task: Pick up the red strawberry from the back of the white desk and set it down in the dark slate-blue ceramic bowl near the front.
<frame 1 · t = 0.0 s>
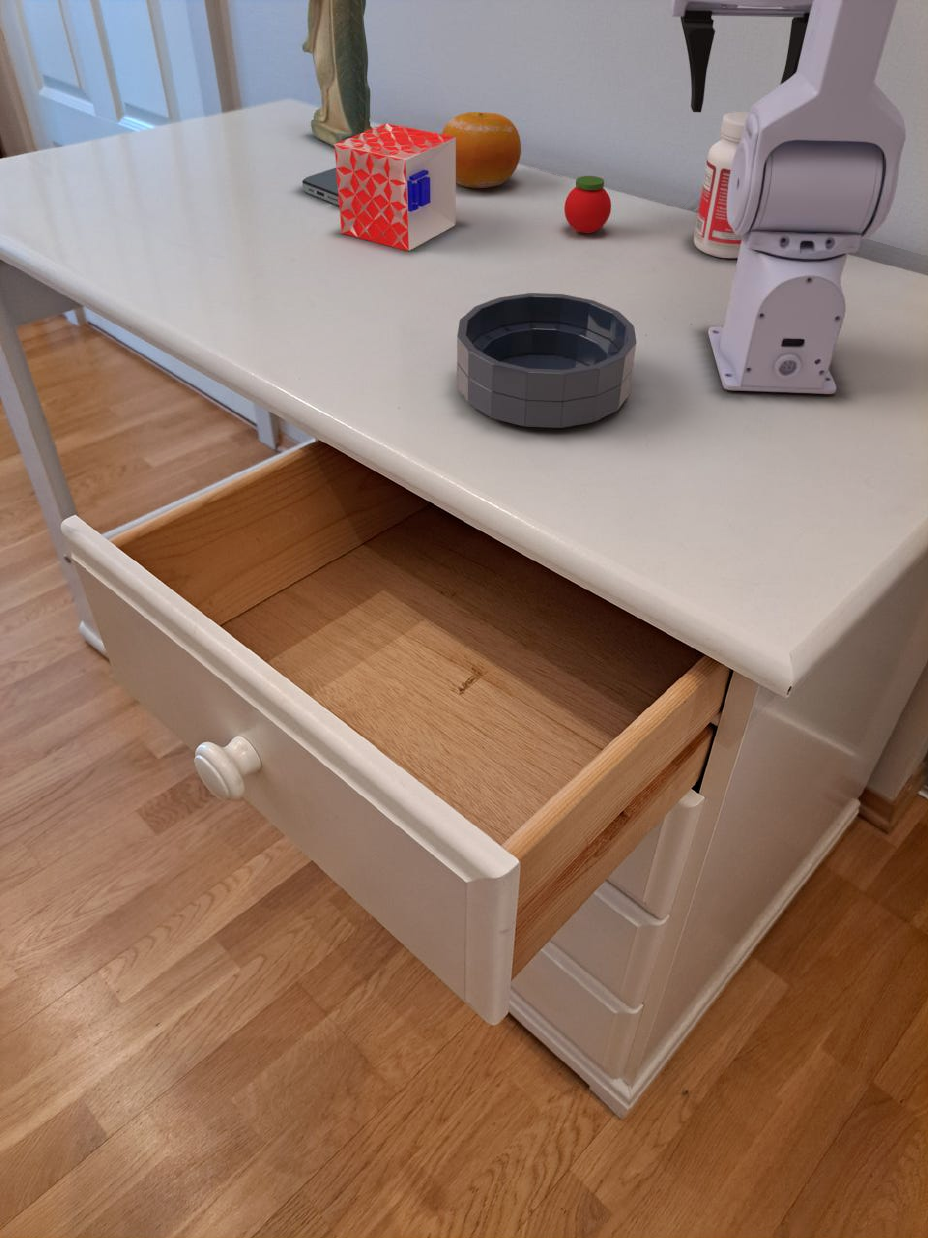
hand: (738, 110, 84), 10 cm above the table, tool pointing down, fingers open, 7 cm apart
pill bottle: (725, 249, 86), on the table
statue: (343, 141, 110), on the table
fruit: (479, 184, 99), on the table
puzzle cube: (399, 231, 89), on the table
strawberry: (585, 231, 89), on the table
bowl: (542, 389, 67), on the table
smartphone: (376, 185, 99), on the table
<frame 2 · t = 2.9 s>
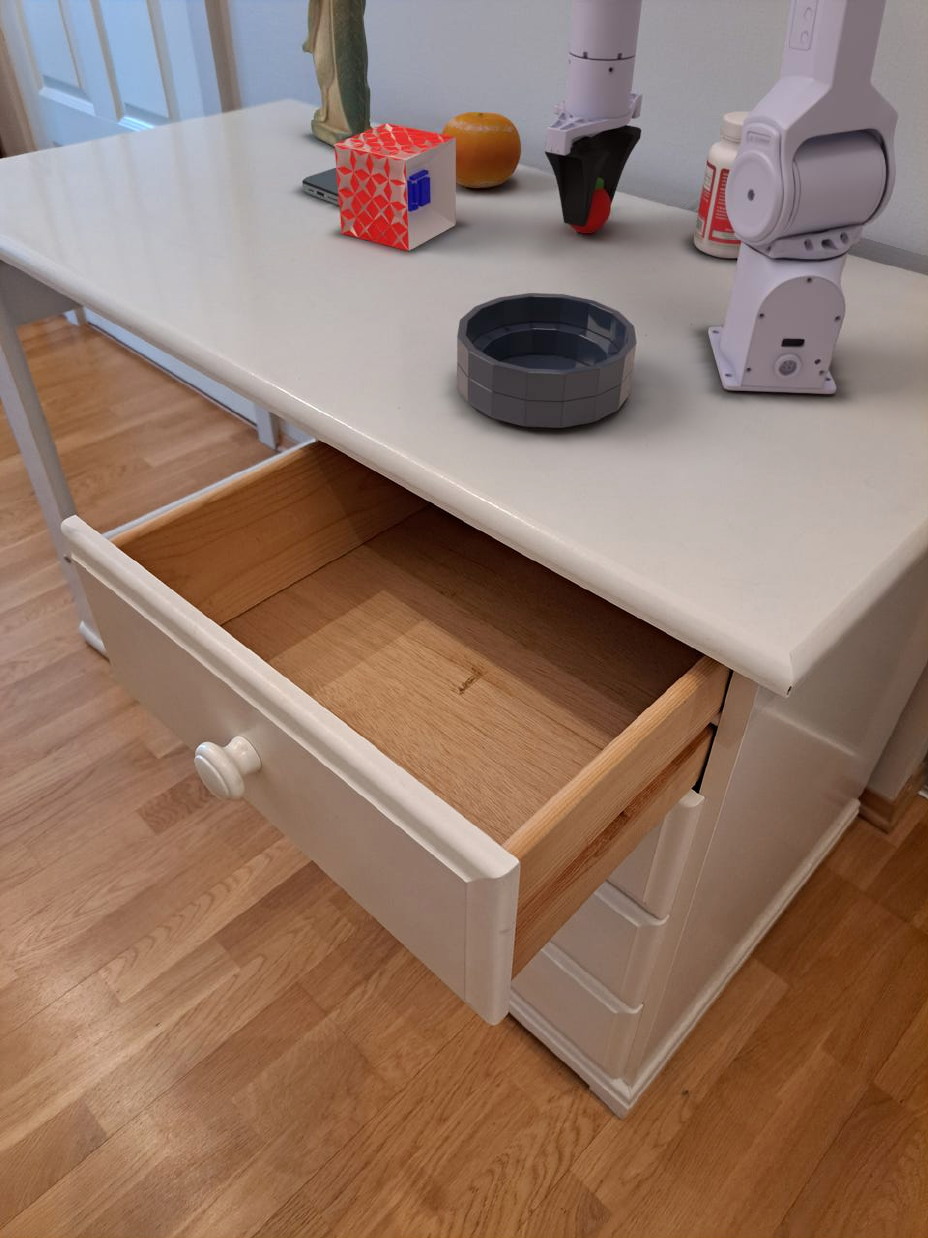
hand: (586, 216, 88), 1 cm above the table, tool pointing down, fingers closed on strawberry, 4 cm apart
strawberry: (585, 231, 89), on the table, touching gripper
everything else where it was.
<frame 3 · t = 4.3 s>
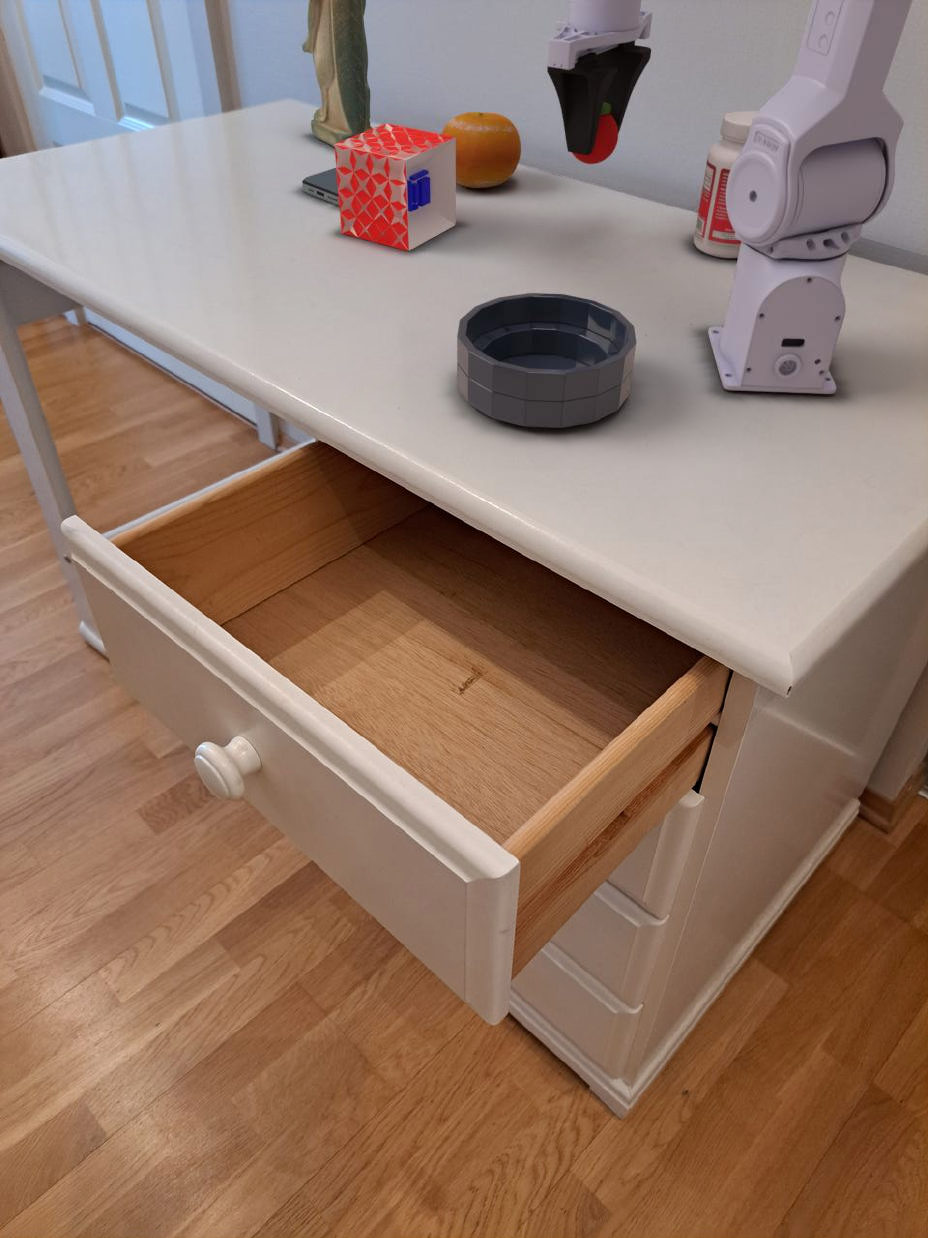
hand: (592, 145, 82), 8 cm above the table, tool pointing down, fingers closed on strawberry, 4 cm apart
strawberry: (590, 162, 83), point 7 cm above the table, touching gripper
everything else where it was.
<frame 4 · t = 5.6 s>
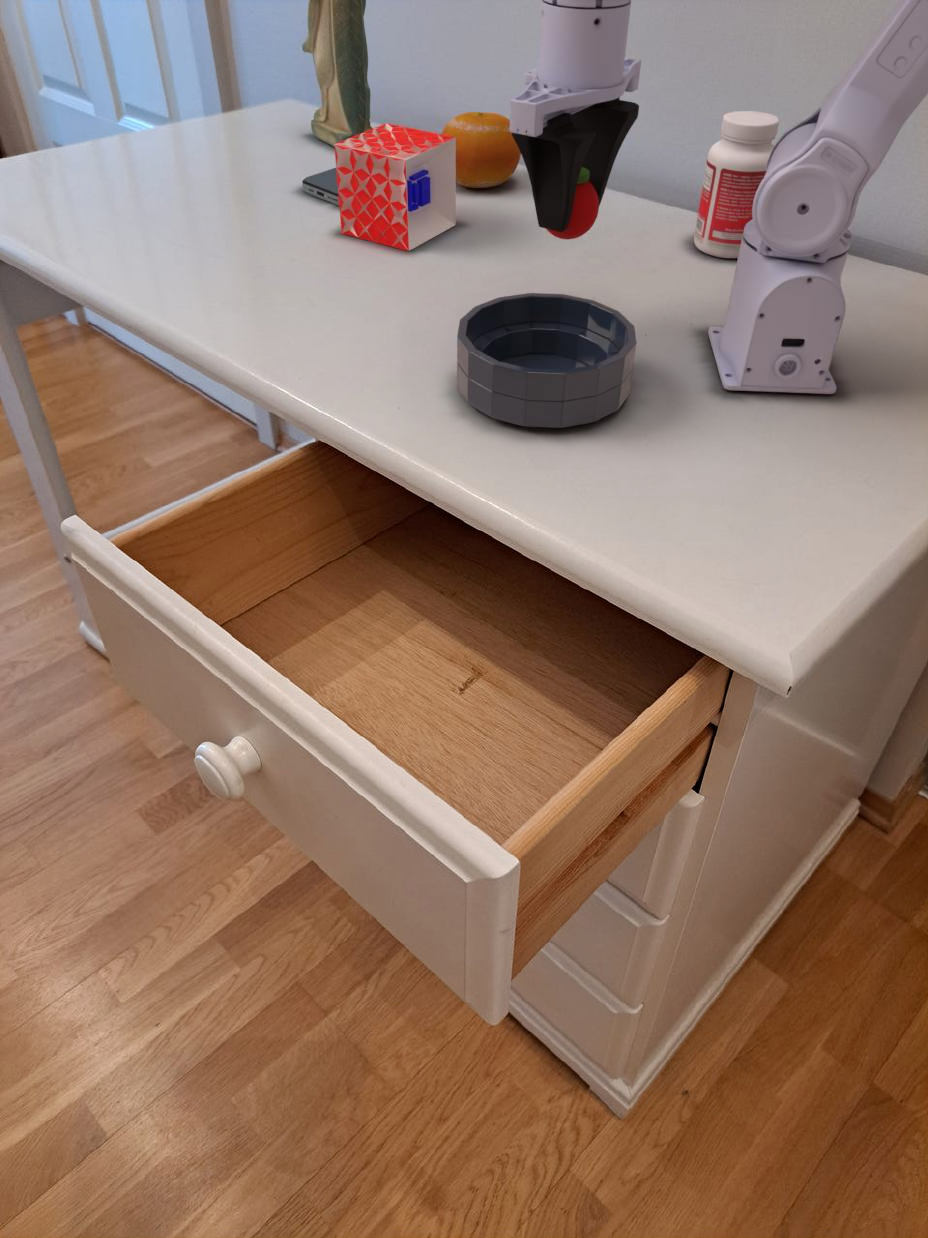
hand: (568, 218, 69), 8 cm above the table, tool pointing down, fingers closed on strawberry, 4 cm apart
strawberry: (566, 237, 69), point 7 cm above the table, touching gripper
everything else where it was.
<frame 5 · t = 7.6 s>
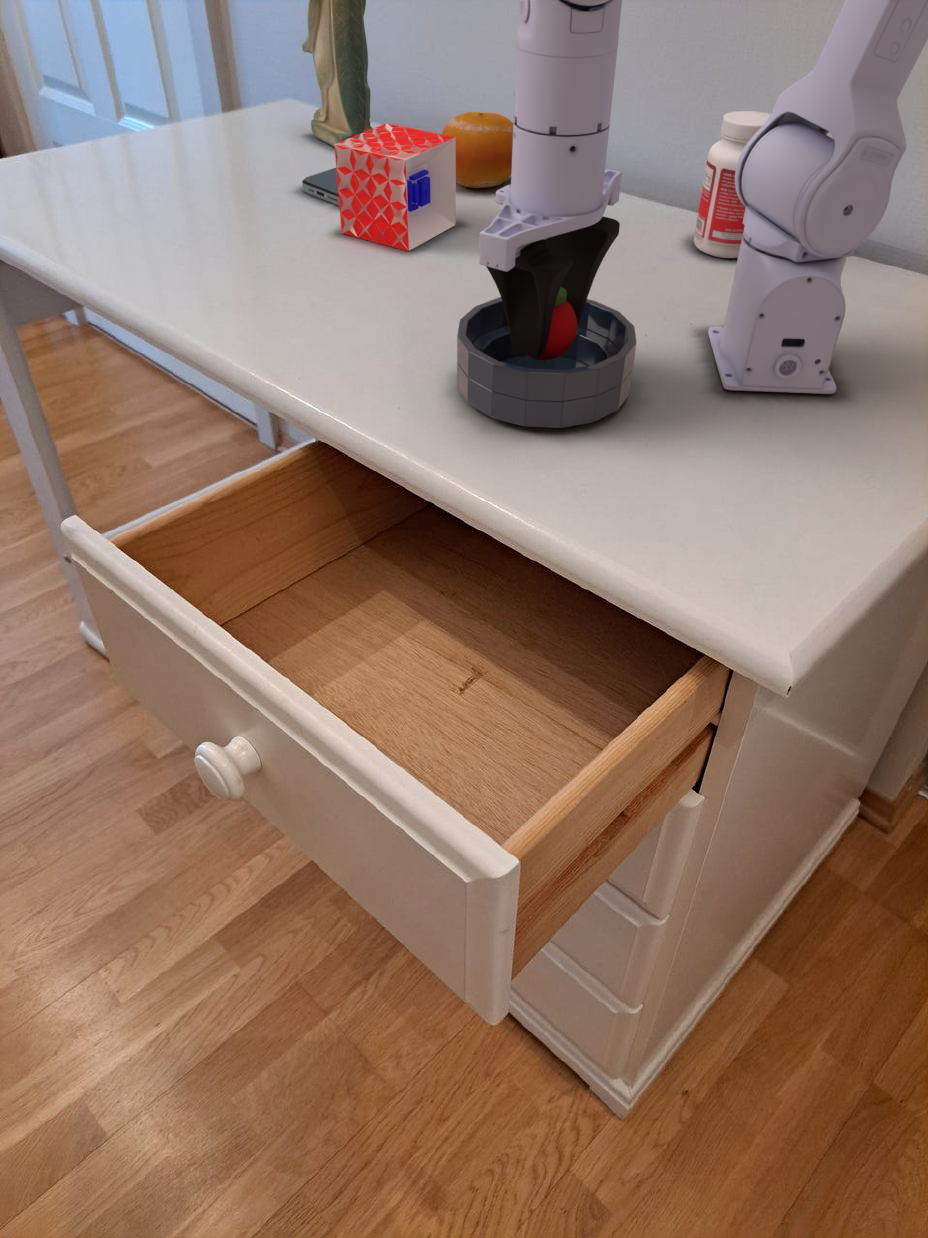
hand: (545, 337, 64), 4 cm above the table, tool pointing down, fingers closed on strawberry, 4 cm apart
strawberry: (542, 356, 65), point 3 cm above the table, touching gripper
everything else where it was.
when the fingers open (2 cm above the table, at t = 8.7 s): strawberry stays where it is, resting on bowl.
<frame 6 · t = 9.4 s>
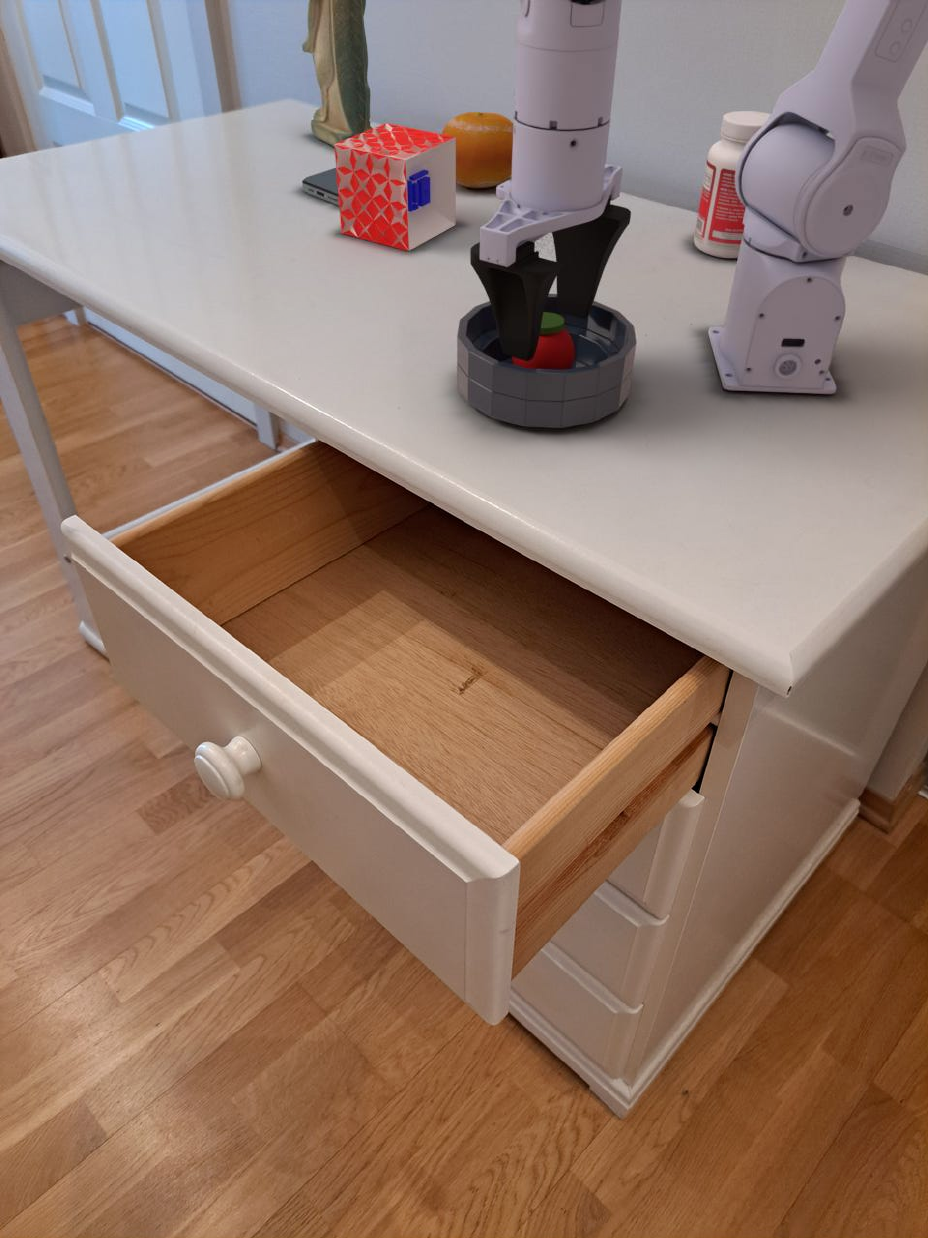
hand: (546, 333, 64), 4 cm above the table, tool pointing down, fingers open, 7 cm apart
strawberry: (541, 382, 66), resting on bowl
everything else where it was.
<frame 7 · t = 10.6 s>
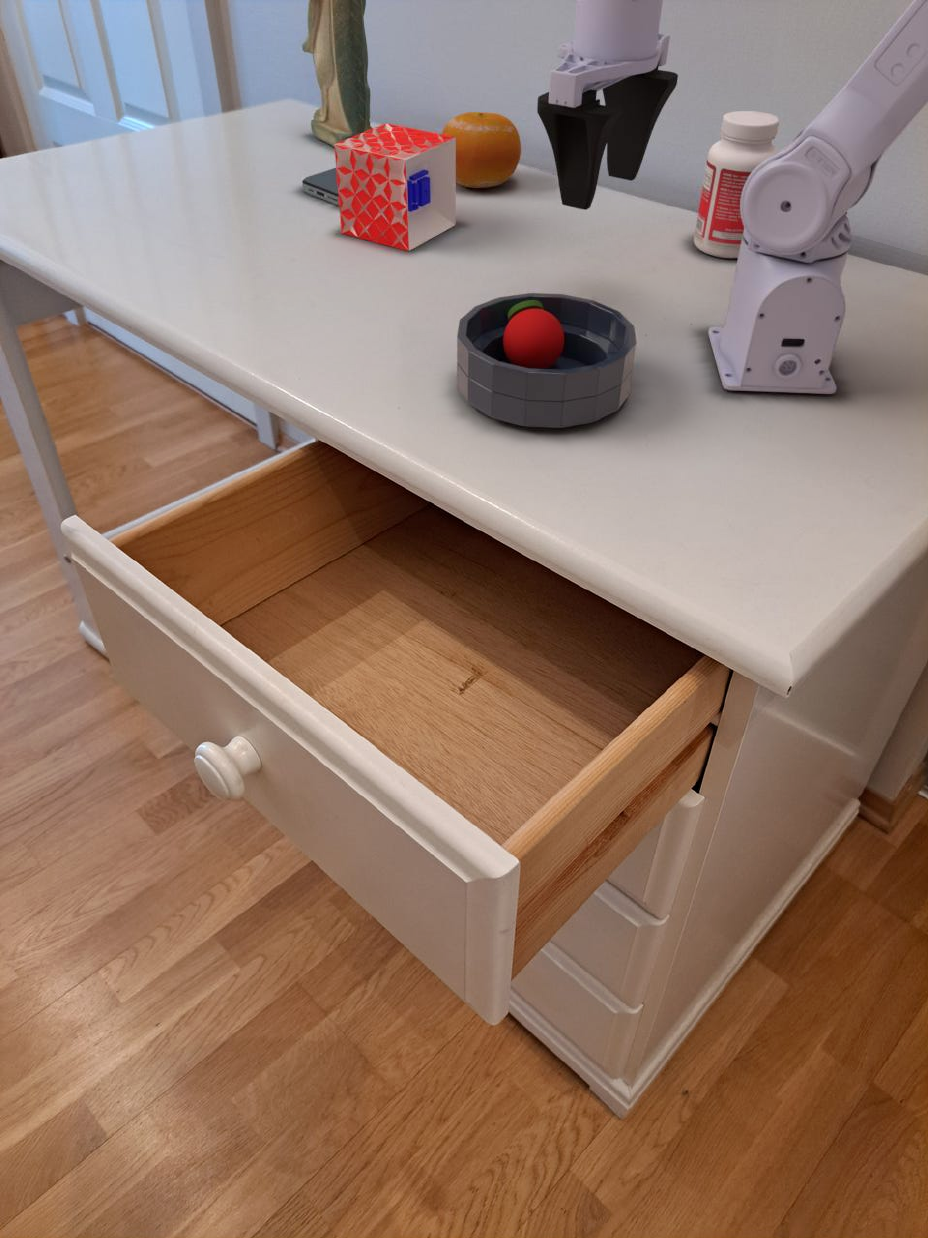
hand: (599, 191, 70), 9 cm above the table, tool pointing down, fingers open, 7 cm apart
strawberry: (541, 367, 66), point 1 cm above the table, tilted 56°, touching bowl
everything else where it was.
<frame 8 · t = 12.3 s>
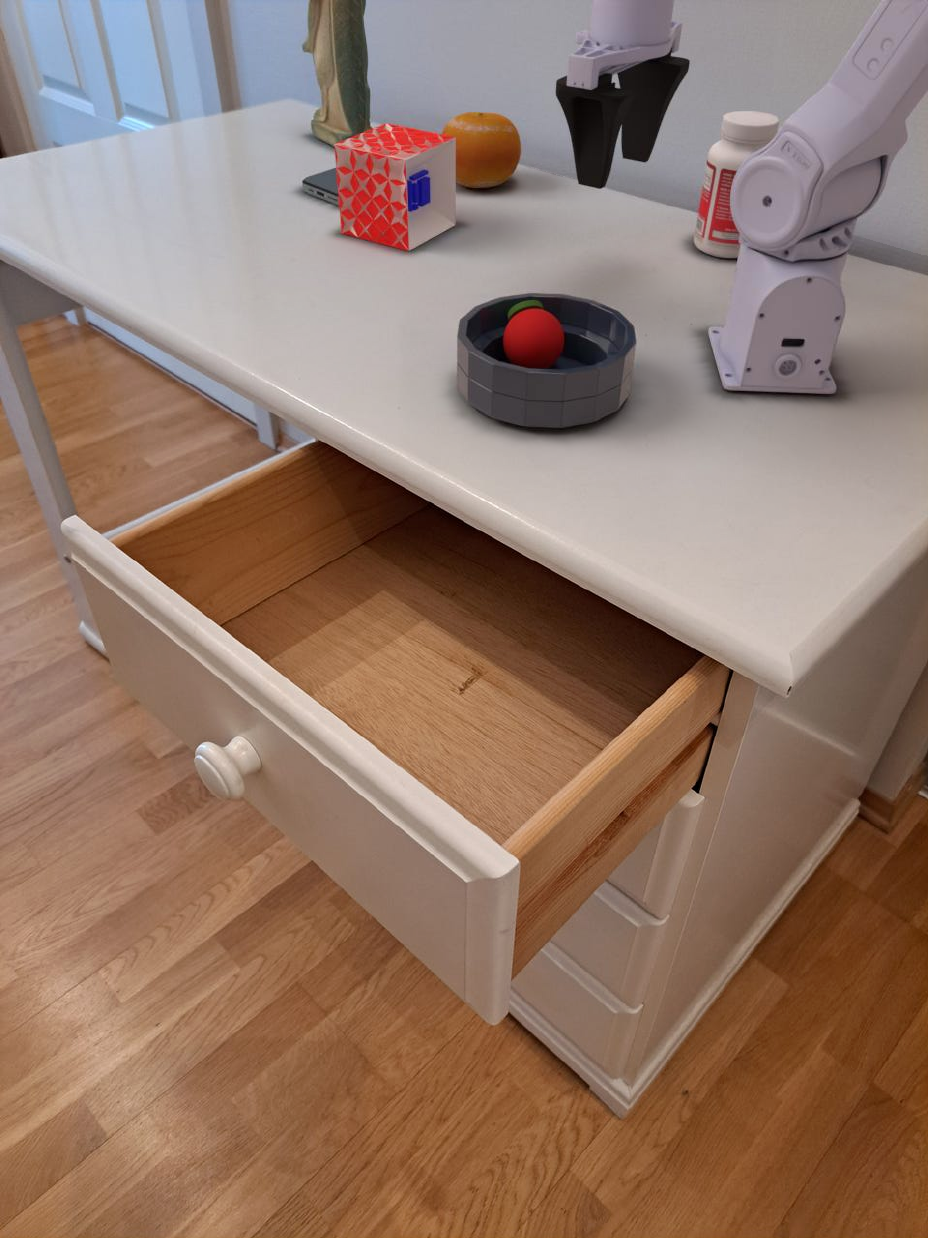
hand: (614, 171, 73), 9 cm above the table, tool pointing down, fingers open, 7 cm apart
nothing on the table moved.
at the end: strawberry inside the target area in the bowl (0.4 cm from its centre), point 1.5 cm above the bowl's base; the gripper is holding nothing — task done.
